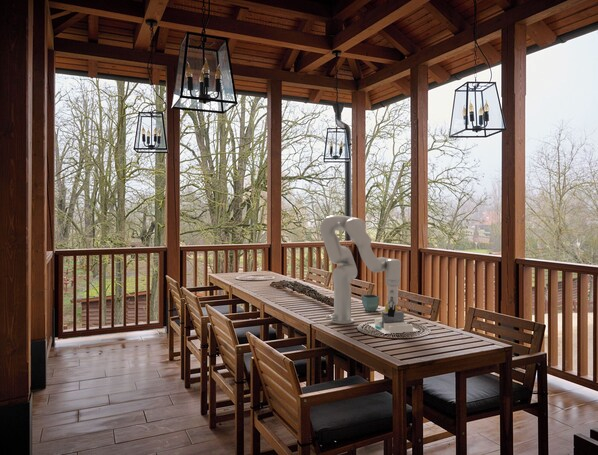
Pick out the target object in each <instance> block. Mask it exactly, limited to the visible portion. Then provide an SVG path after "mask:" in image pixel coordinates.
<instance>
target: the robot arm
mask: <svg viewBox="0 0 598 455" xmlns="http://www.w3.org/2000/svg"><path fill="white" fill-rule="evenodd" d="M336 231H344V232H345V231H346V233H347V234H348V236H349V237H350V238H351V240H352V241H353V243H354V244H355V245H356V247H357V249H358V252H359V255H360V258H361V260H362V262H363V263H364V264H365V266H366V267H367V269H368V270H369V271H370V272H372V273H375V274H376V273H380V272H384V271H385V286H386V287H387V302H388V305H389V309H388V317H394V311H395V304H396V305H398V302H399V287H400V286H401V275H402V274H401V273H402V272H401V270H402V269H401V268H402V261H401V259H398V258H389V257H384V256H379V257H377V256H376V254H375V253H374V251H373V249H372V247H371V246H372V245H371V244H372V238H371V237H370V235H369V234H368V233H367V231H366V223H365V221H364V220H363V219H362V218H358V217H353V216H347V215H340V214H339V215H337V214H336V215H328V216H326V217H325V218H323V220H322V222H321V223H320V226H319V232H320V235H321V238H322V241H323V243H324V247H325V249H326V250H325V251H326V253H327V256H328V259H329V261H330V263H332V264H334V265H338V264H339V265H338V266H336V267H335V268H334V269H333V272H332V281H333V312H332V314H327V315H325V319H327V320H328V319H329V320H330V321H331V323H334V324H340V325H349V324H353V323H354V321H355V319H354V318H352V287H351V284H350V282H351V281H353V280H355V279H356V277H357V276H358V269H357V265H356V262H355V260H354V256H353V254H352V251H351V249H349V248H348V247H347V246H345V245H341V242H340V239H339V237H338V234H336Z"/></svg>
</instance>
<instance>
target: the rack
mask: <svg viewBox="0 0 598 455" xmlns="http://www.w3.org/2000/svg"><path fill="white" fill-rule="evenodd" d="M373 320H374V323H368V324H367V326H368V325H369V326H371V327H373V328H375V329H377V330H379V331H380V332H382V333H384V334H386V333H402V332H416V331H420V330H419V329H417V328H415V327H414V325H413V324H411V323H409V324H408V321H404V322H397V323H384V328H383V327H382V317H377V318H374V319H373ZM369 326H368V327H369ZM371 327H370V328H371ZM373 328H372V329H373ZM375 329H374V330H375ZM380 332H379V333H380ZM416 333H417V332H416Z"/></svg>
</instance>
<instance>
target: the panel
mask: <svg viewBox="0 0 598 455" xmlns="http://www.w3.org/2000/svg"><path fill="white" fill-rule="evenodd" d="M381 313H382V315H381V318H382V327H383V328H384V323H397V322H405V321H404V320H405V312H404V311H402V310H398V311H394V317H388V312H383V311H382V312H381Z"/></svg>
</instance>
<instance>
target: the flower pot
mask: <svg viewBox="0 0 598 455" xmlns="http://www.w3.org/2000/svg"><path fill="white" fill-rule="evenodd" d="M380 298H381V297H380V296H378V295H376V294H362V295H361V301H362V303H361V304H362V306H363V308H364V310H366V311H367V312H375V311H377V310H378V308H379V306H380V305H379V304H380Z"/></svg>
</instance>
